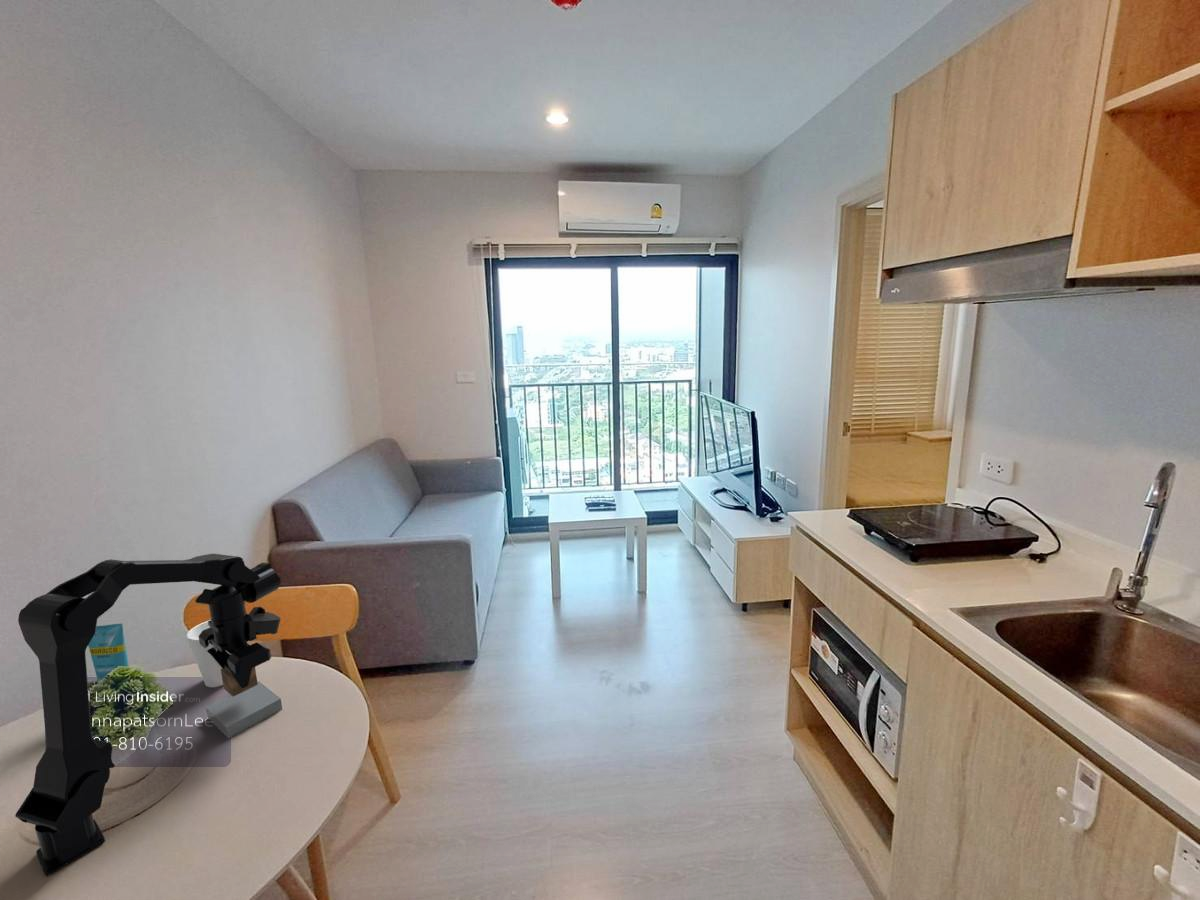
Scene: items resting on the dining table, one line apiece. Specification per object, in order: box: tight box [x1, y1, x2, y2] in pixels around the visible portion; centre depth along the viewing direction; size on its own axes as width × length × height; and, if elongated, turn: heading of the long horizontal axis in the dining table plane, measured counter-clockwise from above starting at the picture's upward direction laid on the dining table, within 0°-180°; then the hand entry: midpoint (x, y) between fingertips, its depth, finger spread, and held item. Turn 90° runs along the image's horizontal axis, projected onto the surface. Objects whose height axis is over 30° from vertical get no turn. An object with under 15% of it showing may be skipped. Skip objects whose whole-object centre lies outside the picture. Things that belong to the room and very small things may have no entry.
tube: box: [87, 622, 130, 682], centre depth 107 cm, size 7×5×19 cm, turn 103°
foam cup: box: [186, 619, 223, 688], centre depth 116 cm, size 10×9×13 cm
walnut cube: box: [221, 667, 258, 697], centre depth 105 cm, size 4×4×4 cm
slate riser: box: [205, 681, 283, 739], centre depth 106 cm, size 10×10×2 cm
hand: (239, 682), depth 105 cm, fingers closed on walnut cube, 4 cm apart
